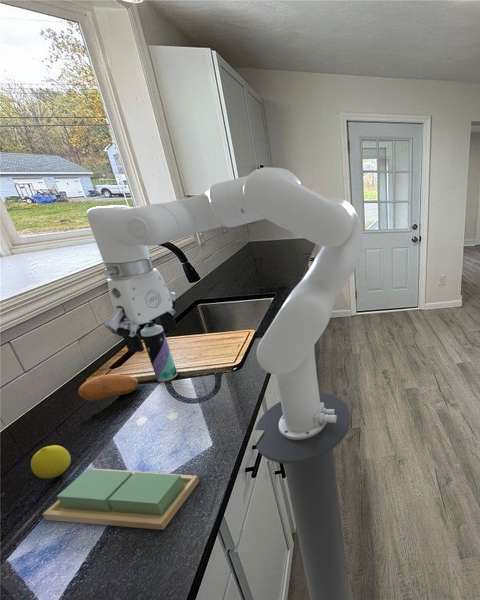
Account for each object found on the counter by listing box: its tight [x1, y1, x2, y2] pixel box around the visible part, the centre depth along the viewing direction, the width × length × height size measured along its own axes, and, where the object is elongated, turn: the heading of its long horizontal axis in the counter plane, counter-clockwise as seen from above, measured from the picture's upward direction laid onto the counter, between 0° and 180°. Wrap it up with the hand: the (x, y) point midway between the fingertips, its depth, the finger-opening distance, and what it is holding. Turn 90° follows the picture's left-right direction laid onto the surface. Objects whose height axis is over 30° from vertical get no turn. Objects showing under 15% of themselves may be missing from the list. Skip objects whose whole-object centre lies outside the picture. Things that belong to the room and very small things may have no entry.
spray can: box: [140, 320, 178, 383], centre depth 99 cm, size 6×6×20 cm
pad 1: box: [56, 468, 133, 512], centre depth 63 cm, size 10×6×4 cm, turn 85°
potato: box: [77, 373, 139, 403], centre depth 93 cm, size 7×13×7 cm, turn 117°
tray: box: [42, 468, 200, 531], centre depth 63 cm, size 24×10×2 cm, turn 85°
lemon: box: [30, 444, 72, 479], centre depth 67 cm, size 6×6×8 cm
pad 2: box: [108, 471, 185, 516], centre depth 62 cm, size 10×6×4 cm, turn 85°
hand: (154, 339), depth 72 cm, fingers open, 9 cm apart
